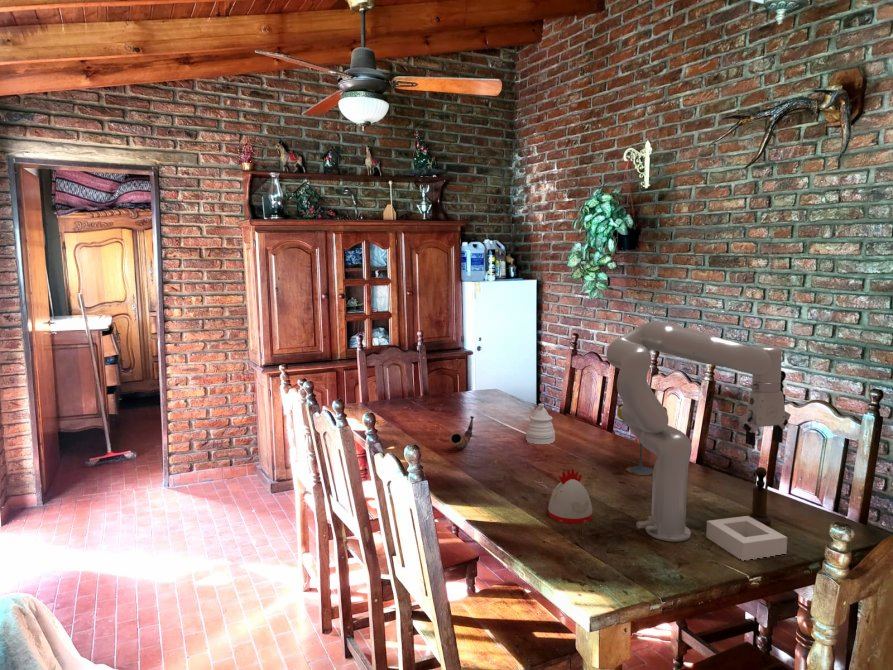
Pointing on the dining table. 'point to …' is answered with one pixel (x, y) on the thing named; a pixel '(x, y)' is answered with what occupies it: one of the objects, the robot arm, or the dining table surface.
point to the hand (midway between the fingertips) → (763, 443)
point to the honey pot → (540, 427)
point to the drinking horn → (462, 441)
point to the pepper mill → (760, 499)
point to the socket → (746, 537)
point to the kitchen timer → (570, 500)
